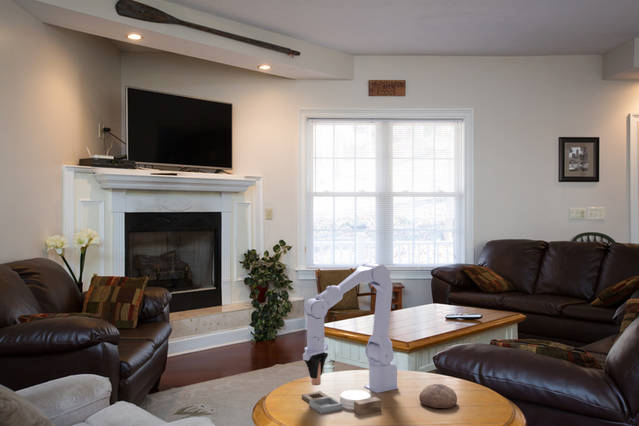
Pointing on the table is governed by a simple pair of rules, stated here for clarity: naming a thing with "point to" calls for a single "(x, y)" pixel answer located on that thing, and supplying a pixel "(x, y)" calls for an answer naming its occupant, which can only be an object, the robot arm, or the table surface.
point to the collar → (311, 395)
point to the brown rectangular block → (367, 406)
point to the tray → (325, 405)
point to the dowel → (318, 379)
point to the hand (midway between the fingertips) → (316, 376)
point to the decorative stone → (438, 396)
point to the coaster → (352, 398)
